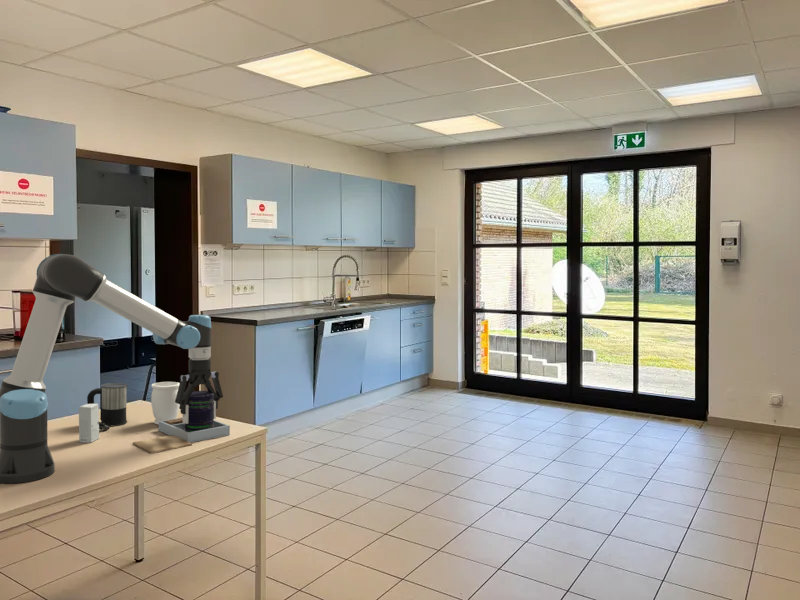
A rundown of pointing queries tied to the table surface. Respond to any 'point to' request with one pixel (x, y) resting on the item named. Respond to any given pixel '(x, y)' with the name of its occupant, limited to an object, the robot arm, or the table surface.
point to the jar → (164, 401)
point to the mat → (162, 443)
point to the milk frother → (111, 404)
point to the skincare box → (88, 423)
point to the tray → (180, 432)
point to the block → (173, 421)
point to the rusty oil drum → (200, 411)
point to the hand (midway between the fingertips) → (199, 420)
